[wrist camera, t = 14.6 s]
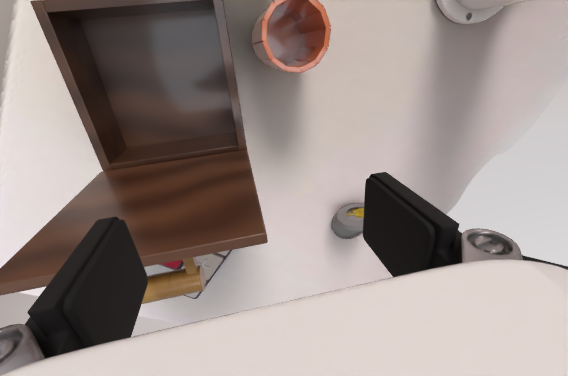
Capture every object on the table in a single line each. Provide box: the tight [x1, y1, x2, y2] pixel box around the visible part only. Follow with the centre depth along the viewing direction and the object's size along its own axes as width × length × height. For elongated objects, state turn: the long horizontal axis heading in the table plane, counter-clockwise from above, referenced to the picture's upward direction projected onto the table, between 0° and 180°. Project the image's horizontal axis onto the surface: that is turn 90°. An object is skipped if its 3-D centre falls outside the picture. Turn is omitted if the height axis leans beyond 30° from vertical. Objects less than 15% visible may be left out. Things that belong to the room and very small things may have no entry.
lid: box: [0, 150, 267, 304], centre depth 24 cm, size 17×16×5 cm
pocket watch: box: [332, 203, 364, 239], centre depth 43 cm, size 8×8×10 cm
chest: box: [31, 0, 247, 171], centre depth 30 cm, size 16×16×7 cm
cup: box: [252, 0, 331, 73], centre depth 29 cm, size 6×6×10 cm
